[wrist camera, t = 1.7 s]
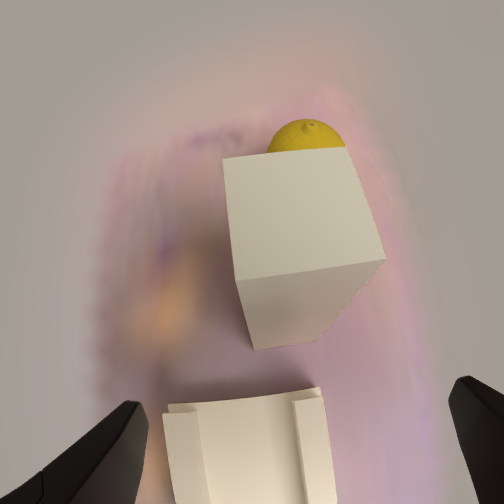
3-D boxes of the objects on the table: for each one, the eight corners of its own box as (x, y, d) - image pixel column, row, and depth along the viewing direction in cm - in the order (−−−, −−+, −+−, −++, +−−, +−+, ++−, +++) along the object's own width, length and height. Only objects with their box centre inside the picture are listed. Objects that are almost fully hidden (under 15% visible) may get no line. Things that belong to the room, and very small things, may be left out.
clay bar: (316, 340, 20) (386, 258, 8) (254, 350, 20) (235, 280, 8) (305, 283, 21) (345, 146, 10) (246, 291, 21) (222, 158, 10)
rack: (332, 511, 15) (344, 530, 11) (193, 525, 14) (180, 545, 11) (315, 387, 18) (326, 386, 15) (174, 403, 18) (157, 404, 15)
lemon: (349, 200, 24) (375, 126, 17) (307, 247, 23) (324, 177, 15) (295, 163, 26) (301, 86, 19) (250, 204, 24) (243, 127, 17)
